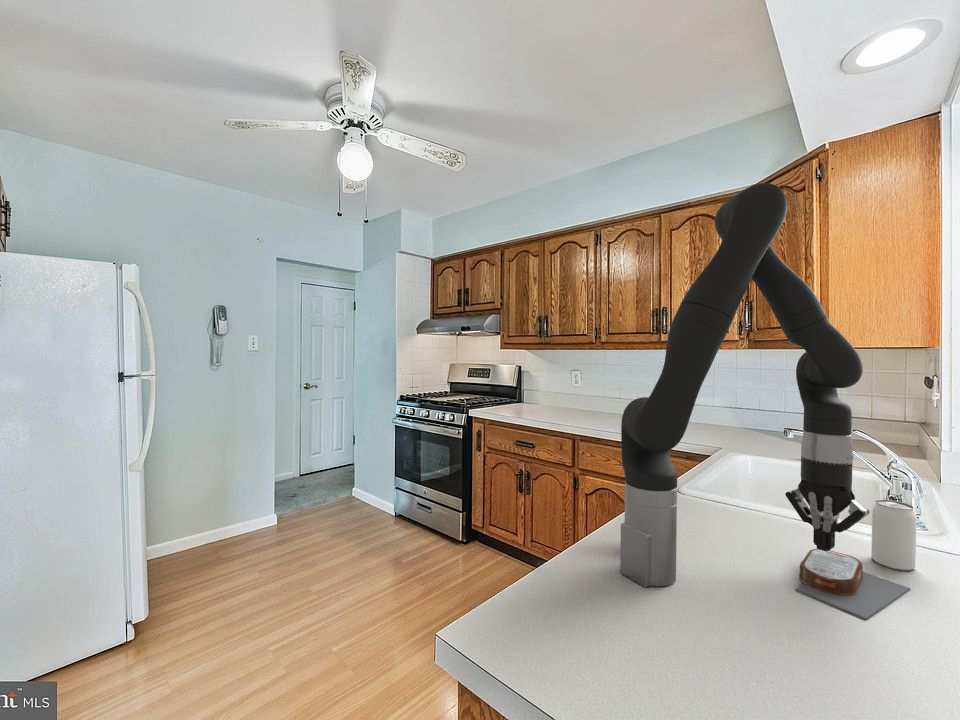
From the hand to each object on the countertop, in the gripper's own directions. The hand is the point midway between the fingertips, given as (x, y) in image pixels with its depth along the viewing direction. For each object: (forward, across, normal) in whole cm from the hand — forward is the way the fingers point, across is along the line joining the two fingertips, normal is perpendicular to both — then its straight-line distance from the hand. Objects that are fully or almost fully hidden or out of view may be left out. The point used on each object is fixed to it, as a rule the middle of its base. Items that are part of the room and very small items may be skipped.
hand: (824, 549), depth 83 cm
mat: (+6, +4, 0) cm, 7 cm away
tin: (+4, -4, 0) cm, 5 cm away
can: (+6, +4, +19) cm, 20 cm away
